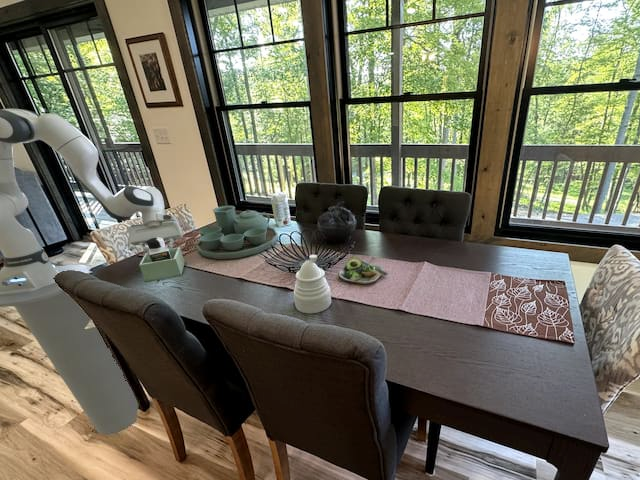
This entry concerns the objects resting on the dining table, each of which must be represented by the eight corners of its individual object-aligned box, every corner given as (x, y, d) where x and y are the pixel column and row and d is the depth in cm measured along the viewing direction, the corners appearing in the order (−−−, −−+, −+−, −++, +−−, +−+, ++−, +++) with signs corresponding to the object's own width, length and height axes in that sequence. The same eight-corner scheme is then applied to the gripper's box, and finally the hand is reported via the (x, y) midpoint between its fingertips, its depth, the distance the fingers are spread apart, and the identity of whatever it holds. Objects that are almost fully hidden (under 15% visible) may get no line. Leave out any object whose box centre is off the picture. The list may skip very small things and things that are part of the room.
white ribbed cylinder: (292, 224, 189) (287, 193, 180) (278, 227, 185) (273, 195, 176) (287, 221, 195) (283, 191, 186) (274, 224, 191) (269, 193, 182)
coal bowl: (333, 250, 152) (330, 213, 143) (312, 239, 166) (308, 205, 157) (364, 239, 163) (363, 204, 154) (342, 230, 177) (340, 197, 168)
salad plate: (393, 268, 133) (393, 259, 130) (379, 289, 118) (379, 278, 116) (352, 262, 140) (351, 253, 138) (334, 281, 125) (333, 271, 123)
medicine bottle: (154, 269, 133) (144, 243, 127) (154, 263, 138) (144, 238, 133) (173, 264, 136) (164, 239, 131) (172, 259, 142) (163, 234, 136)
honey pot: (323, 290, 119) (318, 246, 111) (337, 306, 109) (333, 260, 101) (290, 299, 114) (283, 255, 106) (302, 317, 104) (295, 269, 96)
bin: (145, 281, 131) (138, 265, 128) (152, 268, 143) (146, 252, 139) (181, 275, 135) (175, 258, 132) (184, 262, 147) (179, 247, 143)
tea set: (180, 256, 153) (170, 224, 146) (233, 228, 187) (227, 201, 179) (248, 264, 142) (240, 230, 134) (292, 233, 175) (287, 204, 168)
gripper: (124, 222, 131) (126, 252, 128) (177, 215, 137) (181, 243, 134) (131, 228, 137) (133, 257, 133) (182, 221, 143) (186, 249, 139)
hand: (158, 250), depth 134 cm, fingers closed on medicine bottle, 7 cm apart
